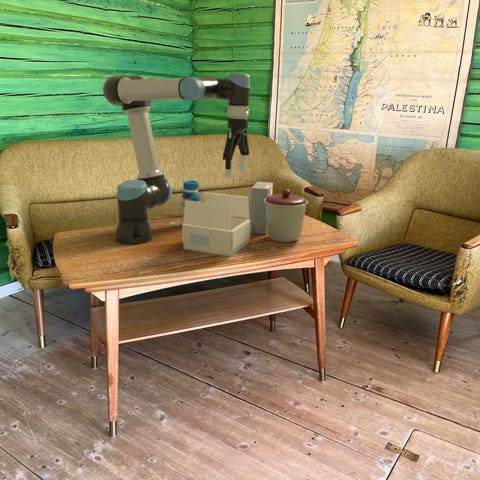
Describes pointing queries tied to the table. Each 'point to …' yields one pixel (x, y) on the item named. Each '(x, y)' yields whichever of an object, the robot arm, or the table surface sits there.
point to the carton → (217, 238)
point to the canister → (285, 216)
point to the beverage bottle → (190, 193)
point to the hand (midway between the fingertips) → (235, 174)
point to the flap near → (207, 215)
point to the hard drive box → (259, 206)
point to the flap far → (230, 203)
